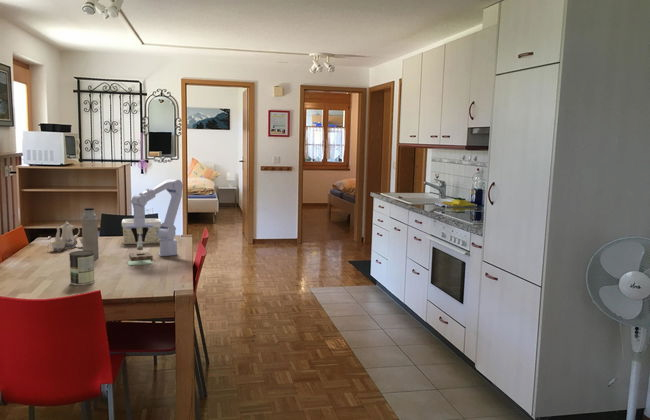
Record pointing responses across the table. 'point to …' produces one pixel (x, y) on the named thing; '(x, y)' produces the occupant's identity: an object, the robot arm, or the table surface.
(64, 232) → the chinaware
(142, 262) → the sage mat
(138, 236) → the steel peg
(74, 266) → the coffee can
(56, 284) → the table surface
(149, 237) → the storage basket
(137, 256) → the eye block
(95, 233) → the thermos bottle
